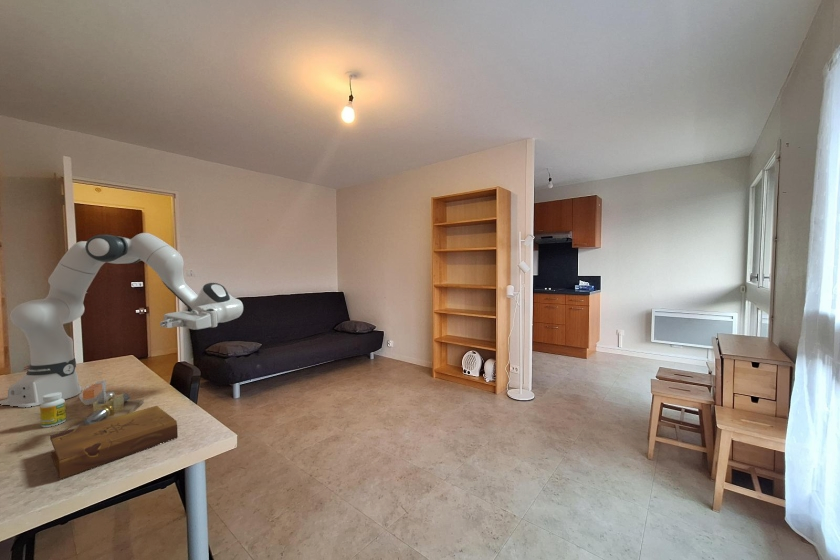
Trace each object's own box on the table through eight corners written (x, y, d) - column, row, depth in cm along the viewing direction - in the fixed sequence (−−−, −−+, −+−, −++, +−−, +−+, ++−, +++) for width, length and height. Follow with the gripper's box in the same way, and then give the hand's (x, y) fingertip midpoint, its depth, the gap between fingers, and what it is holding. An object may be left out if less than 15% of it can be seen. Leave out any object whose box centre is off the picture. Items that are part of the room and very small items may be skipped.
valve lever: (104, 396, 108) (103, 375, 108) (115, 395, 109) (114, 373, 109) (82, 416, 93) (81, 391, 93) (96, 414, 95) (94, 389, 94)
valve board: (113, 428, 100) (113, 423, 100) (67, 434, 96) (67, 429, 96) (143, 403, 119) (143, 399, 119) (106, 407, 115) (105, 403, 115)
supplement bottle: (49, 421, 105) (47, 392, 105) (70, 418, 107) (69, 390, 107) (36, 429, 100) (34, 398, 100) (58, 426, 102) (57, 396, 101)
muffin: (85, 407, 115) (84, 388, 115) (75, 405, 118) (74, 386, 117) (106, 401, 121) (105, 382, 121) (97, 398, 123) (96, 381, 123)
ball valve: (101, 426, 99) (100, 409, 99) (79, 429, 97) (78, 411, 97) (133, 401, 118) (133, 386, 118) (116, 403, 116) (115, 388, 116)
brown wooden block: (60, 483, 75) (59, 459, 75) (51, 456, 86) (49, 435, 86) (177, 439, 94) (177, 420, 94) (157, 422, 105) (156, 404, 105)
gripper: (186, 305, 132) (146, 313, 119) (218, 311, 123) (178, 320, 111) (188, 320, 133) (148, 329, 120) (219, 327, 124) (180, 337, 112)
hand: (163, 325), depth 115 cm, fingers closed
